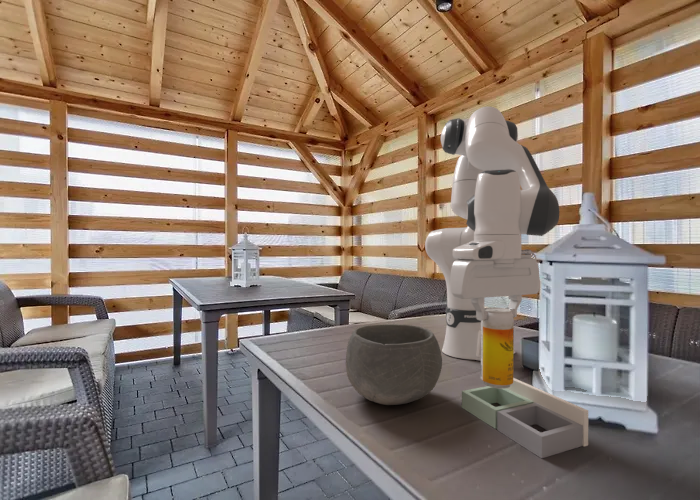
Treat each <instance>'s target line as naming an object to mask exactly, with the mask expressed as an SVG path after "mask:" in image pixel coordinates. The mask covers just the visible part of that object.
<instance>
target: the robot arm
mask: <svg viewBox="0 0 700 500" xmlns="http://www.w3.org/2000/svg"><path fill="white" fill-rule="evenodd" d="M518 132H519V131H518V127H517V125H516V123H515V122H513V121H510V120H507V119H505V117H504V115H503V113H502V111H500V110H499V108H496V107H495V106H494V107H493V106H487V105H486V106H483V107H480V108H478V109H476V110H475V111H473V113H472V114H470V117H469V118H462V119H461V118H460V117H459V118H453V119H449V120H448V121H447V122H446V123H445V124H444V126H443V128H442V130H441V133H440V143H441V147H442V150H443V152H444V153H446V154H449V155H453V156H454V155H457V156H459V157H458V159H457V160H456V164H455V168H454V173H453V177H452V184H451V194H450V195H451V199H450V208H451V211H452V212H453V213H454V214H455V215H456V216H458V217H460V218H462V219H464V220H466V225H467V227H466V226H465V227H445V228H440V229H435V230H432V231H430V232H429V233H428V235H427V236H426V238H425V243H424V248H425V252H426V255H427V256H428V257H429V259H431V260H432V261H433V262H434V263H435V264H436V265H437V267H439V269H440V271H441V272H442V275H443V277H444V279H445V285H446V303H447V306H446V307H445V322H446V326H445V327H446V328H445V337H444V341H443V344H442V345H443V346H442V349H441V353H444V355H446V356H450V357H453V358H456V359H457V358H458V359H463V360H473V361H475V360H476V361H480V362H481V321H483V320H488V311H485V310H484V308H485V298H495V297H496V298H498V297H508V299H509V300H510V301H509V304H508V306H507V307H505V308H506V309H510V310H511V311H512V314H513V316H514V318H517V316H518V315H517V314H518V309H519V306H520V304H521V303H522V300H523V298H522V297H523V296H526V295H536V294H537V295H538V293H539V291H540V290H541V279H540V278H541V277H540V269H539V264H538V262H537V255H536V254H535V253H534V252H533V251H532V250H531V249H526V248H525V249H522V235H527V236H536V237H543V236H545V235H546V234H548V233H549V232H550V231H552V230H553V229H554V228H555V227H556V226H557V225H558V224H559V221H560V220H559V219H560V204H559V201H558V198H557V196H556V195H555V193H554V192H553V191H552V189H550V187H549V186H548V184H547V183H546V180H545V179H544V176H543V175H542V173H541V171H540V168H539V167H538V164H537V163H536V161H535V158H534V157H533V155H532V154H531V152H530V151H529V150H530V149H528V147H526V146H524V145H522V144H520V143H518V139H519V133H518ZM533 255H534V257H535V259H533V258H534V257H533V258H531V257H532V256H533ZM515 354H516V349H514V353H513V355H515Z"/></svg>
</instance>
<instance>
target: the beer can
mask: <svg viewBox="0 0 700 500" xmlns="http://www.w3.org/2000/svg"><path fill="white" fill-rule="evenodd" d="M506 308H507V307H495V306H494V307H493V306H491V307H484V310H485V311H488V320H483V321H481V361H480V380H481V381H482V382H483V384H484V385H485V386H489V387H493V388H499V389H505V388H509V387H510V385H511V384H512V383H513V378H514V354H515V353H514V350H515V349H514V348H515V347H514V346H515V345H514V339H515V338H514V337H515V335H514V334H515V333H514V330H515V329H514V328H515V327H514V326H515V325H514V319H515V317H514V316H513V314H512V311H511V310H510V309H506ZM513 353H514V354H513Z"/></svg>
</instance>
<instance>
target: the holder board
mask: <svg viewBox="0 0 700 500" xmlns="http://www.w3.org/2000/svg"><path fill="white" fill-rule="evenodd" d="M493 404H499V406H494V405H493ZM461 408H462V409H463V410H465V411H467V412H468V413H470V414H471V415H473V416H474V417H476V418H477V419H479V420H480V421H482V422H483V423H485V424H487V425H489V426H490V427H491V428H493V429H495V430H496V429H497V430H496V431H498V432H499V433H501V434H502V435H504V436H506V437H507V438H508V439H510V440H512V441H514V442H515V443H516V444H518V445H519V446H522V447H523V448H524V449H525V450H527V451H529V452H530V453H532V454H534V455H535V456H537V457H539V458H540V459H545V458H548V457H550V456H554V455H558V454H561V453H564V452H567V451H570V450H573V449H577V448H579V447H580V448H581V447H588V446H589V410H588V409H585V408H583V406H582V407H581V406H579V405H577V404H574V403H572V402H570V401H567V400H566V399H563V398H561V397H558V396H556V395H554V394H552V393H549V392H547V391H546V390H545V391H544V390H542V389H540V388H537V387H536V386H533V385H531V384H529V383H527V382H524V381H523V380H522V381H521V380H519V379H517V378H515V377H513V383H512V384H511V385H510V387H509V388H505V389H499V388H493V387H489V386H487V385H485V386H481V387H476V388H475V387H474V388H471V389H465V390H461ZM533 425H537V426H538V427H541V428H542V429H545V431H543V432H542V431H538V430H537V429H535V428H533V427H532V426H533Z"/></svg>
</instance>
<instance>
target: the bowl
mask: <svg viewBox="0 0 700 500" xmlns="http://www.w3.org/2000/svg"><path fill="white" fill-rule="evenodd" d="M442 368H443V356H442V350H441V348H440V344H439V341H438V339H437V338H436V336H435V334H434V333H433V331H432V330H431V329H429V328H426V327H422V326H419V325H412V324H398V323H397V324H393V323H392V324H391V323H390V324H389V323H388V324H387V323H386V324H373V325H372V324H369V325H368V324H367V325H361V326H359V327H357V328H355V329H354V330H353V331H352V332H351V335H350V337H349V340H348V342H347V346H346V352H345V371H346V377H347V378H348V381H349V383H350V384H351V387H352V388H353V389H354V390H355V391H356V392H357V393H358V394H359V395H361V396H362V397H363V398H365V399H366V400H368V401H370V402H374V403H377V404H379V405H383V406H384V405H385V406H394V405H395V406H396V405H397V406H398V405H406V404H408V403H411V402H412V403H413V402H414V401H417V400H419V399H422V398H423V397H425V396H427V395H428V394H429V393H431V391H433V389H434V388H435V387H436V386H437V382H438V381H439V378H440V375H441V373H442Z"/></svg>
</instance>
